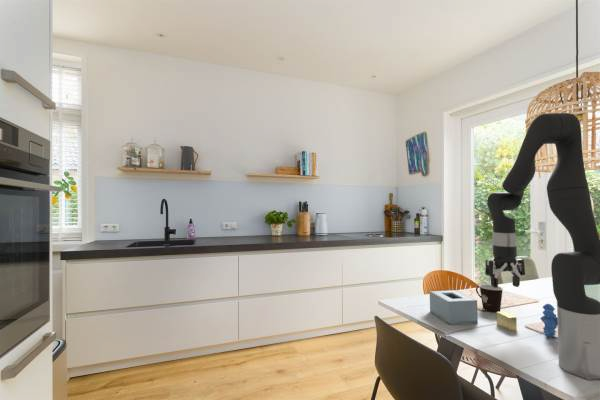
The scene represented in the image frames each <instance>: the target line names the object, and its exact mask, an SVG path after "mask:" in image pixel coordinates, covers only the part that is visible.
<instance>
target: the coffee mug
mask: <svg viewBox="0 0 600 400" xmlns="http://www.w3.org/2000/svg"><path fill="white" fill-rule="evenodd" d="M478 289H479V291H478ZM475 291H476V295H478V296H479V298H480V299H481V305H482V309H485V310H487V311H486V312H488V313H492V314H493V313H496V314H497V312H501V307H502V300H503V299H502V298H503V287H502V286H499V285H498V288H495V287H492V285H491V284H480V285H478V286H476V287H475ZM479 292H480V293H479ZM485 310H484V311H485Z"/></svg>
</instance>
